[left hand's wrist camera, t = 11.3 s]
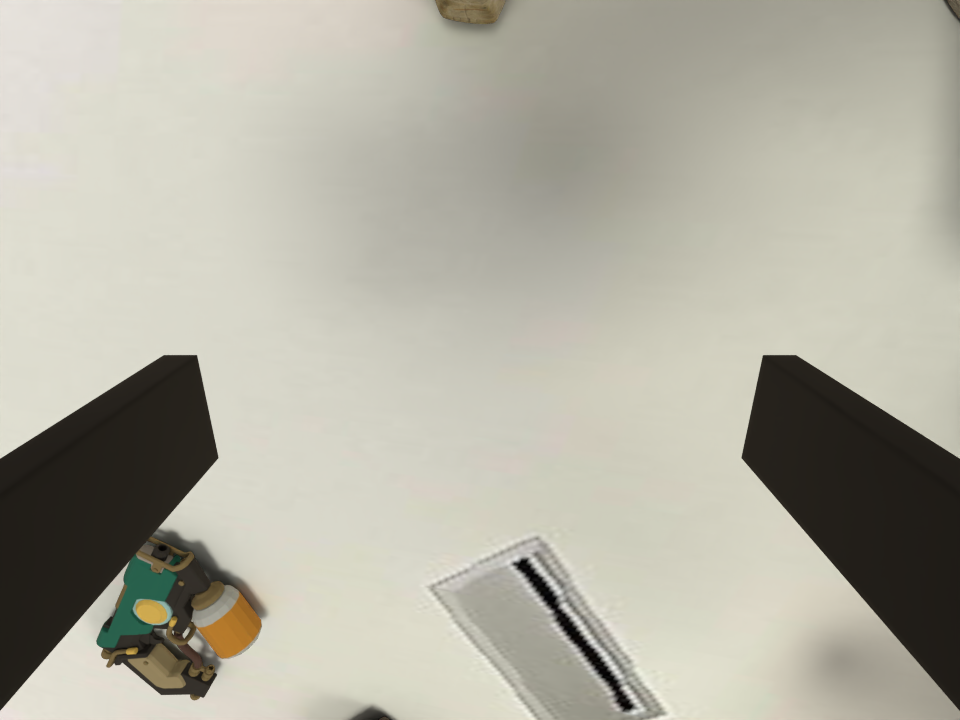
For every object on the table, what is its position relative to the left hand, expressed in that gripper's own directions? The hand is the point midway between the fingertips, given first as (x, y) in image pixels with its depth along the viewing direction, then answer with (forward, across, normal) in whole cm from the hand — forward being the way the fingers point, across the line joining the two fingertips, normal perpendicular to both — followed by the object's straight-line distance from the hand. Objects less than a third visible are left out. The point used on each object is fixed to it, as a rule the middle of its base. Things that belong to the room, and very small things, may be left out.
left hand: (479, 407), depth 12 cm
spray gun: (+27, -29, -35) cm, 53 cm away
